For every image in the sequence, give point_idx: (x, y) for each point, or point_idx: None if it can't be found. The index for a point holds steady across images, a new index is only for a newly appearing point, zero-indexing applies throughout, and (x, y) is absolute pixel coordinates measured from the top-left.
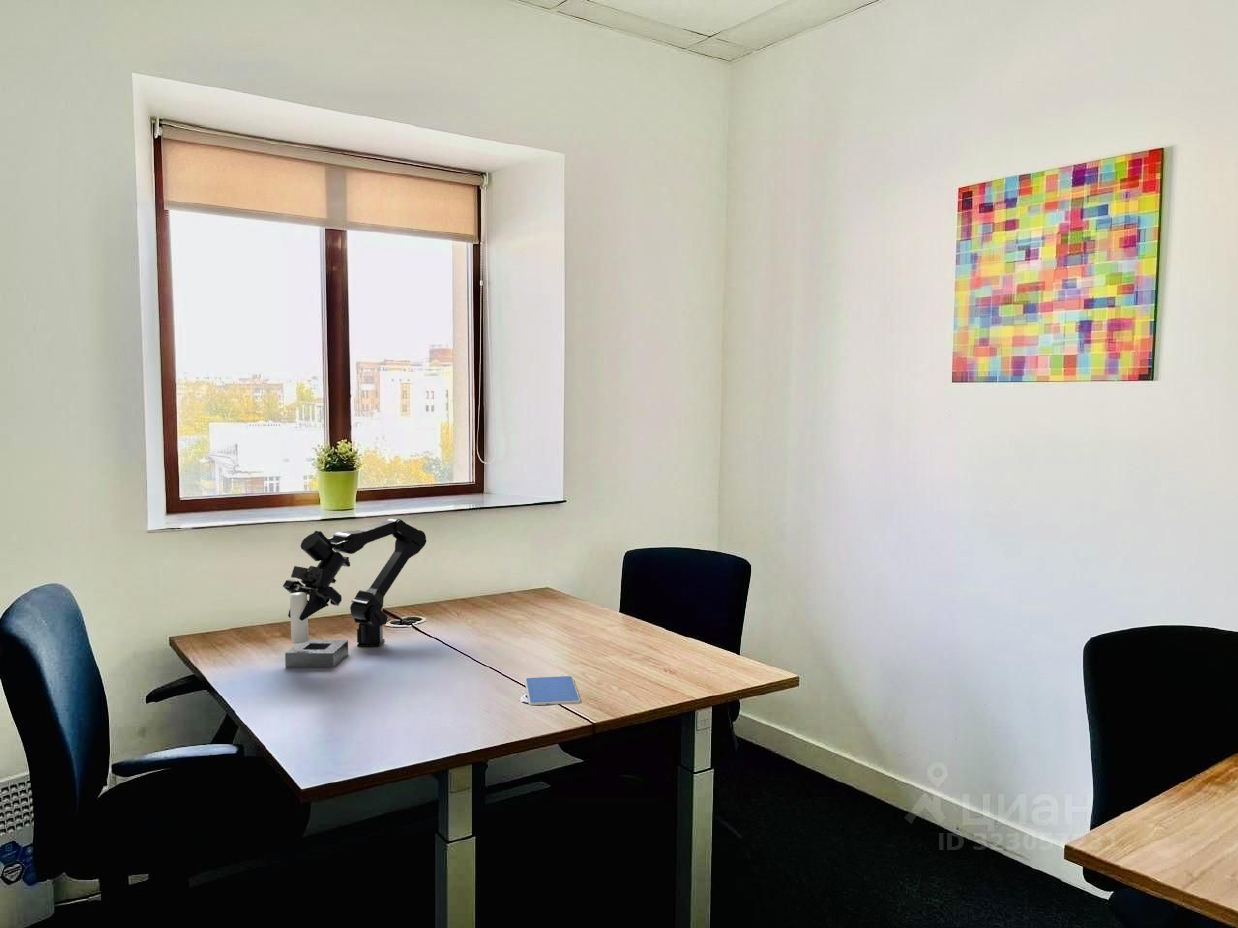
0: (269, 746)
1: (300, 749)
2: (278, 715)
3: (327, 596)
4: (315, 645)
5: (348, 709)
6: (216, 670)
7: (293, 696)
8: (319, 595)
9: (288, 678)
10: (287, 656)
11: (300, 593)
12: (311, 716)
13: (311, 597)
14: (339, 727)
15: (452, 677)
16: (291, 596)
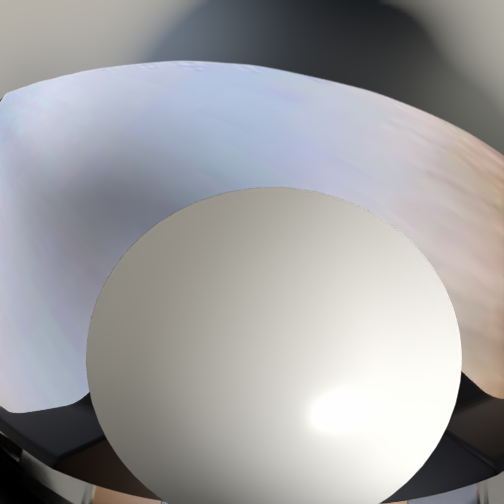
0: (43, 81)
1: (20, 103)
2: (72, 104)
3: (12, 459)
4: None
5: (16, 188)
6: (411, 126)
7: (97, 147)
8: (23, 452)
9: (194, 197)
10: None
11: (274, 467)
12: (38, 137)
13: (63, 419)
14: (9, 151)
15: (10, 386)
16: (250, 194)
